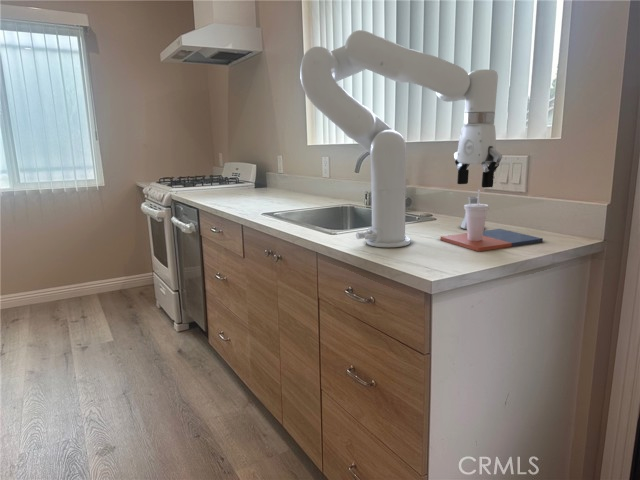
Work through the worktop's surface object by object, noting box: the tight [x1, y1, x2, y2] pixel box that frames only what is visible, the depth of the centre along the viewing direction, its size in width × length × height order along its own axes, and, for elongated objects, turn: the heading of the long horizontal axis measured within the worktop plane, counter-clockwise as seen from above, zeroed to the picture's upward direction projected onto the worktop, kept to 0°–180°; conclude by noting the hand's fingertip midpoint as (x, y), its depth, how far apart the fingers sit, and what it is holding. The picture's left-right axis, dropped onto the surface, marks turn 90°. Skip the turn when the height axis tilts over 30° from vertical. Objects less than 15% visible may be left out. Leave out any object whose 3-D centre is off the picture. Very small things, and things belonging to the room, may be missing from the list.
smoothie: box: [463, 188, 489, 241], centre depth 119 cm, size 6×6×14 cm
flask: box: [460, 196, 478, 230], centre depth 140 cm, size 7×7×10 cm
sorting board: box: [440, 228, 544, 252], centre depth 122 cm, size 22×16×1 cm
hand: (474, 185), depth 117 cm, fingers open, 9 cm apart
